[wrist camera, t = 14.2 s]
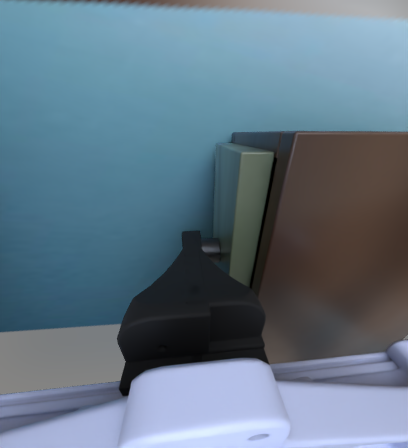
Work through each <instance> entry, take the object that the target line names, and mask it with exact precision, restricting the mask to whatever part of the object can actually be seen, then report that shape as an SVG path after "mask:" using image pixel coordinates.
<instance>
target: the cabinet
mask: <svg viewBox="0 0 408 448" xmlns="http://www.w3.org/2000/svg"><path fill="white" fill-rule="evenodd" d="M232 143H235V144H240V145H244V146H249V147H254V148H258V149H263V150H268V151H272V152H274V158H277V163H276V168H275V173H274V178H273V183H272V188H271V193H270V198H269V203H268V208H267V214H266V219H265V224H264V229H263V234H262V239H261V244H260V249H259V254H258V259H257V264H256V269H255V274H254V279H253V284H252V290H253V291H254V293H255V294H256V296H257V298H258V299H259V301H260V303H261V305H262V307H263V309H264V312H265V315H266V321H265V325H264V328H263V331H262V338H263V341H264V343H265V348H264V350H265V353H266V356H267V359H268V362H269V364H278V363H287V362H296V361H305V360H314V359H323V358H332V357H341V356H350V355H359V354H368V353H376V352H385V351H386V348H387V347H388V346H389V345H390V344H392V343H393V342H395V341H399V340H402V339H403V338H405V336H407V335H408V132H371V131H277V132H234V133H232Z"/></svg>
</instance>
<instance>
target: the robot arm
mask: <svg viewBox="0 0 408 448" xmlns="http://www.w3.org/2000/svg"><path fill="white" fill-rule="evenodd" d="M182 244H183V249H182V251H181V252H180V254H179V256H178V257H177V258H176V260H175V261H174V262H173V264H172V265H171V266H170V267H169V268H168V269H167V271H166V272H165V273H164V274H163V275H162V276H161V277H160V278H158V279H157V280H156V281H155V282H154V283H153V284H152V285H151V286H149V287H148V288H147V289H145V290H144V291H142V292H141V293H140V294H138V295H137V296H135V297H134V298H133V300H132V301H131V303H130V305H129V307H128V309H127V312H126V314H125V316H124V318H123V321H122V324H121V328H120V331H119V334H118V337H117V340H118V345H119V347H120V349H121V352H122V354H123V356H124V359H125V361H126V363H125V367H124V370H123V374H122V378H121V381H117V382H108V383H99V384H91V385H82V386H72V387H64V388H54V389H46V390H37V391H28V392H19V393H10V394H1V395H0V448H408V339H405V340H399V341H395V342H393V343H392V344H390V345H389V346H388V347H387V348H386V351H385V352H376V353H368V354H359V355H350V356H341V357H332V358H323V359H314V360H305V361H296V362H287V363H278V364H269V362H268V359H267V356H266V353H265V350H264V348H265V343H264V341H263V338H262V331H263V328H264V325H265V321H266V315H265V312H264V309H263V307H262V305H261V303H260V301H259V299H258V298H257V296H256V294H255V293H254V291H253V290H252V289H251V288H249V287H248V286H246V285H244V284H242V283H240V282H239V281H237V280H235V279H234V278H232V277H231V276H229V275H228V274H227V273H225V272H224V271H223V270H221V269H220V268H219V267H218V266H217V265H216V264H215V263H214V262H213V261H212V260H211V259H210V258H209V257H208V256H207V255H206V253H205V252H204V251H203V250H202V248H201V234H200V231H184V232H182Z"/></svg>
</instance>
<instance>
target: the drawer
mask: <svg viewBox="0 0 408 448" xmlns="http://www.w3.org/2000/svg"><path fill="white" fill-rule="evenodd" d="M276 163H277V158H274V152H272V151H268V150H263V149H258V148H254V147H249V146H244V145H240V144H235V143H217V144H216V158H215V188H214V217H213V238H202V239H201V248H202V250H203V251H204V252H205V253H206V255H207V256H208V257H209V258H210V259H211V260H212V261H213V262H214V263H215V264H216V265H217V266H218V267H219V268H220V269H221V270H223V271H224V272H225V273H227V274H228V275H229V276H231V277H232V278H234V279H235V280H237V281H239V282H240V283H242V284H244V285H246V286H248V287H249V288H251V289H252V284H253V279H254V274H255V269H256V264H257V259H258V254H259V249H260V244H261V239H262V234H263V229H264V224H265V219H266V214H267V208H268V203H269V198H270V193H271V188H272V183H273V178H274V173H275V168H276Z"/></svg>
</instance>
